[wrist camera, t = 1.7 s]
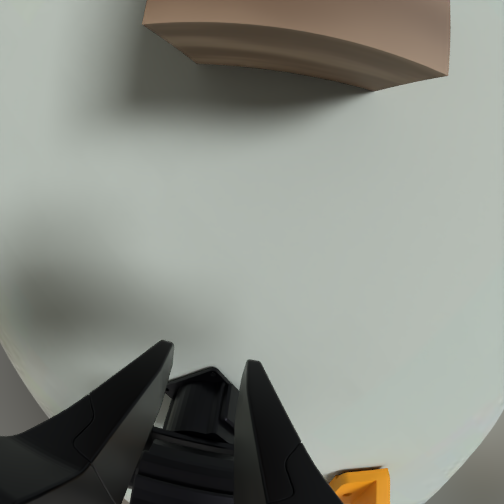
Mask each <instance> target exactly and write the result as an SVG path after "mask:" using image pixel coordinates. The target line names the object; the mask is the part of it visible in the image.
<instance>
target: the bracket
mask: <svg viewBox="0 0 504 504" xmlns="http://www.w3.org/2000/svg"><path fill="white" fill-rule="evenodd" d="M329 485H330V487H331V488H332V489H333V491H334V492H335V493H336V494H337V496H338V497H339V498H340V500H341V501H342V502H343V503H344V504H390V476H389V472H388V468H384V469H377V470H368V471H358V472H347V473H343V474H341V475H336V476H335V477H334V478H333V479H332V481H331V482H330V483H329Z"/></svg>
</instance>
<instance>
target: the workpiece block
mask: <svg viewBox="0 0 504 504" xmlns="http://www.w3.org/2000/svg"><path fill="white" fill-rule="evenodd" d="M142 25H144V26H145V27H147V28H148V29H150V30H151V31H153V32H154V33H155V34H157V35H158V36H160V37H161V38H163V39H164V40H165V41H167V42H168V43H170V44H171V45H172V46H174V47H175V48H177V49H178V50H179V51H181V52H182V53H183V54H185V55H186V56H187V57H189V58H190V59H191V60H193V61H194V62H195V63H197V64H213V65H228V66H240V67H250V68H259V69H268V70H275V71H282V72H288V73H295V74H301V75H306V76H311V77H317V78H322V79H326V80H331V81H336V82H340V83H344V84H348V85H352V86H356V87H360V88H364V89H368V90H371V91H378V90H382V89H386V88H390V87H394V86H399V85H403V84H408V83H412V82H417V81H422V80H427V79H432V78H438V77H443V76H448V71H449V55H450V0H147V3H146V7H145V12H144V17H143V21H142Z"/></svg>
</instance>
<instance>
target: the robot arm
mask: <svg viewBox="0 0 504 504" xmlns="http://www.w3.org/2000/svg"><path fill="white" fill-rule="evenodd" d="M173 354H174V344H173V343H172V342H169V341H165V340H161V341H159V342H158V343H156V344H155V345H154V346H152V347H151V348H150V349H148V350H147V351H146V352H144V353H143V354H142V355H140V356H139V357H138V358H136V359H135V360H134V361H132V362H131V363H130V364H128V365H127V366H126V367H124V368H123V369H122V370H120V371H119V372H118V373H116V374H115V375H114V376H112V377H111V378H109V379H108V380H107V381H105V382H104V383H103V384H101V385H100V386H99V387H97V388H96V389H95V390H93V391H92V392H90V393H89V395H90V396H89V395H86V396H85V397H83V398H82V399H81V400H79V401H78V402H76V403H75V404H73V405H72V406H70V407H69V408H67V409H66V410H64V411H62V412H61V413H59V414H57V415H55V416H54V417H52V418H50V419H48V420H46V421H44V422H43V423H40V424H38V425H37V426H35V427H33V428H31V429H29V430H27V431H25V432H23V433H20V434H17V435H13V436H0V504H121V503H122V500H123V498H124V496H125V493H126V491H127V488H129V489H132V493H131V499H130V504H344V503H343V502H342V501H341V500H340V498H339V497H338V496H337V494H336V493H335V492H334V491H333V489H332V488H331V487H330V485H329V484H328V483H327V481H326V480H325V479H324V477H323V476H322V474H321V473H320V472H319V470H318V469H317V467H316V466H315V464H314V463H313V461H312V459H311V458H310V456H309V454H308V453H307V451H306V449H305V447H304V445H303V443H301V440H300V438H299V436H298V434H297V432H296V430H295V428H294V427H293V425H292V423H291V421H290V419H289V417H288V415H287V413H286V411H285V409H284V407H283V405H282V403H281V402H280V400H279V398H278V396H277V394H276V392H275V390H274V388H273V386H272V384H271V382H270V380H269V378H268V376H267V374H266V372H265V370H264V368H263V366H262V364H261V362H259V361H255V360H250V359H249V360H247V362H246V365H245V368H244V372H243V375H242V379H241V384H240V391H239V390H238V389H237V388H236V387H235V386H234V385H233V384H231V383H230V382H229V380H228V379H227V378H226V377H225V376H224V375H223V374H222V373H221V372H220V371H219V370H218V369H217V368H213V367H212V368H208V369H206V370H203V371H200V372H197V373H194V374H191V375H188V376H186V377H183V378H180V379H177V380H174V381H170V382H168V379H169V375H170V372H171V368H172V364H173ZM165 393H166V394H167V395H168V396H169V397H170V398H172V400H171V403H170V406H169V409H168V413H167V416H166V419H165V422H164V426H163V429H162V428H158V427H154V425H153V424H154V422H155V419H156V417H157V415H158V412H159V410H160V407H161V404H162V401H163V397H164V394H165Z"/></svg>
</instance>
